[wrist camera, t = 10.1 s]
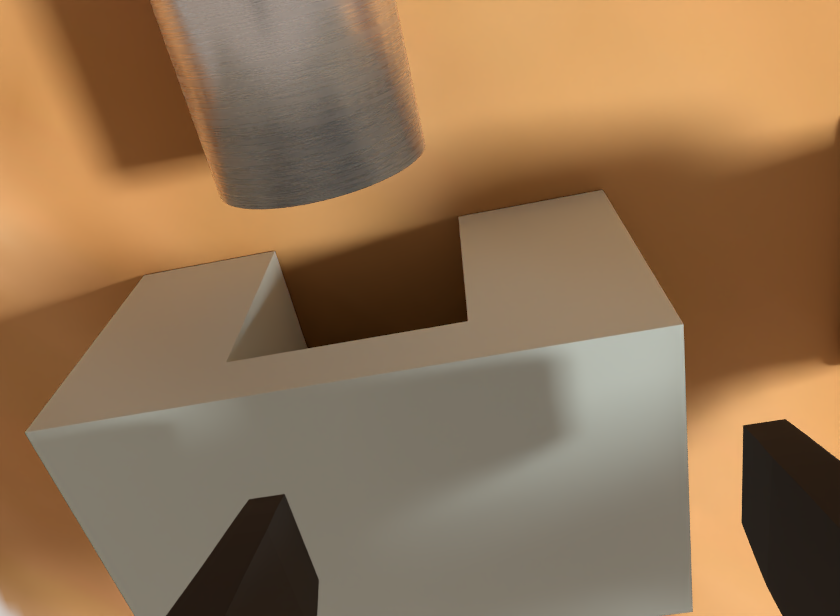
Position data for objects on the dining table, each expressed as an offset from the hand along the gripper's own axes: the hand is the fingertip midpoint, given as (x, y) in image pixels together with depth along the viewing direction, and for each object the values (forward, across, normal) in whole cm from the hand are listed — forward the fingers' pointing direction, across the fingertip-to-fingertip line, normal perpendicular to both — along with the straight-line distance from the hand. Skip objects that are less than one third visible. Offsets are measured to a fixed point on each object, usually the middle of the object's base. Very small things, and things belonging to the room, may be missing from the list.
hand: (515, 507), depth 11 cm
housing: (+10, +3, +3) cm, 11 cm away
